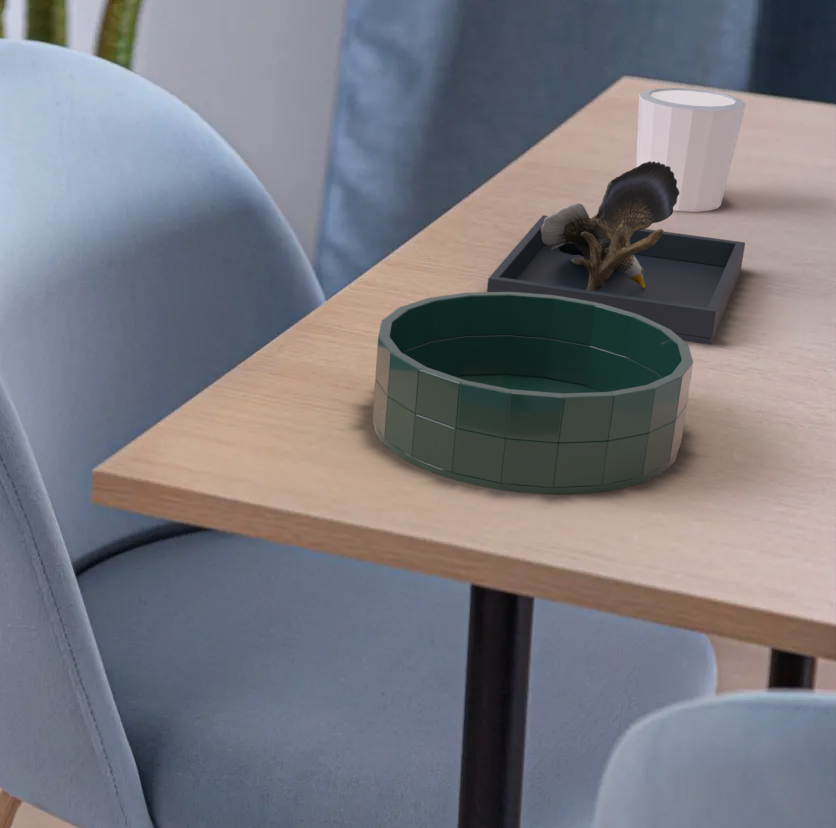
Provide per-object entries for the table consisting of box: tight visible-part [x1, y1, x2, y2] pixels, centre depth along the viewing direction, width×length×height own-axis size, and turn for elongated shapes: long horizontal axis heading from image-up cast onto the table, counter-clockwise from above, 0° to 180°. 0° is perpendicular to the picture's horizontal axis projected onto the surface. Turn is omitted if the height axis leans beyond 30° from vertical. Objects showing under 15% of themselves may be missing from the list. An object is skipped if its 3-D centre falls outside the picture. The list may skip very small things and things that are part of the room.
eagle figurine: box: [541, 161, 679, 291], centre depth 98 cm, size 8×7×9 cm
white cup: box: [635, 87, 747, 213], centre depth 116 cm, size 7×7×7 cm
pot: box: [372, 291, 694, 495], centre depth 78 cm, size 14×14×4 cm
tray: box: [486, 214, 746, 346], centre depth 98 cm, size 14×12×2 cm
